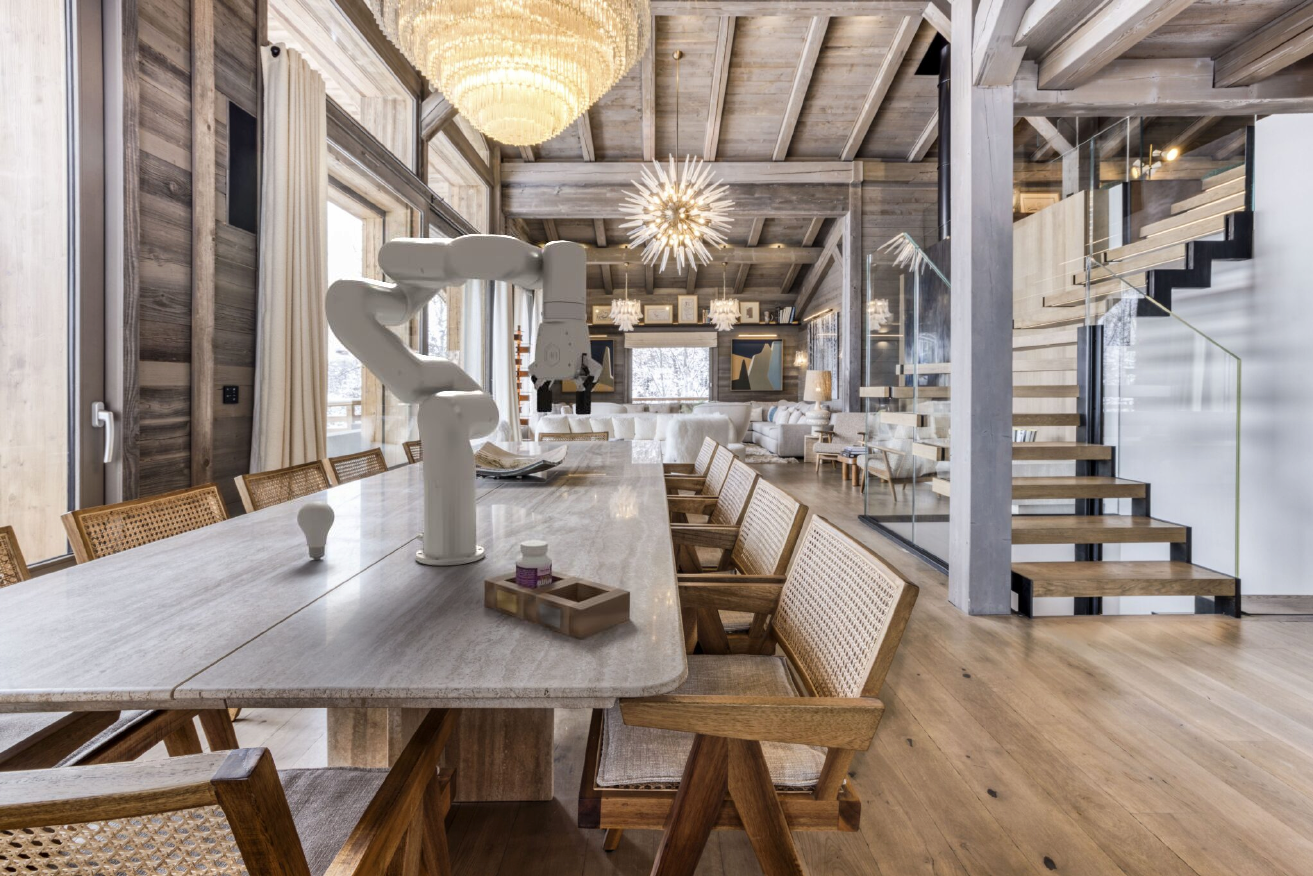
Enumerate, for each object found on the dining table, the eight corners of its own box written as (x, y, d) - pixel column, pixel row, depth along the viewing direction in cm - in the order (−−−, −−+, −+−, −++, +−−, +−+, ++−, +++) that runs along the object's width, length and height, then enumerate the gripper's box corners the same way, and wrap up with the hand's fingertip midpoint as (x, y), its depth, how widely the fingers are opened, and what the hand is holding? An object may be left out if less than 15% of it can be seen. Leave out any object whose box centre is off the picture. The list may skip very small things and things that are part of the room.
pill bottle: (543, 613, 95) (544, 548, 94) (509, 610, 96) (509, 545, 95) (556, 601, 100) (557, 539, 99) (524, 598, 101) (524, 537, 100)
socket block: (482, 606, 97) (482, 580, 96) (534, 590, 105) (534, 566, 105) (578, 640, 85) (579, 610, 84) (629, 618, 93) (630, 591, 93)
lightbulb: (324, 564, 117) (323, 504, 116) (291, 563, 117) (289, 503, 117) (341, 555, 123) (340, 498, 123) (309, 555, 124) (308, 498, 123)
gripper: (514, 315, 115) (514, 411, 117) (585, 310, 105) (584, 415, 106) (545, 319, 121) (545, 411, 123) (615, 315, 111) (614, 414, 112)
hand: (563, 413), depth 114 cm, fingers open, 9 cm apart
